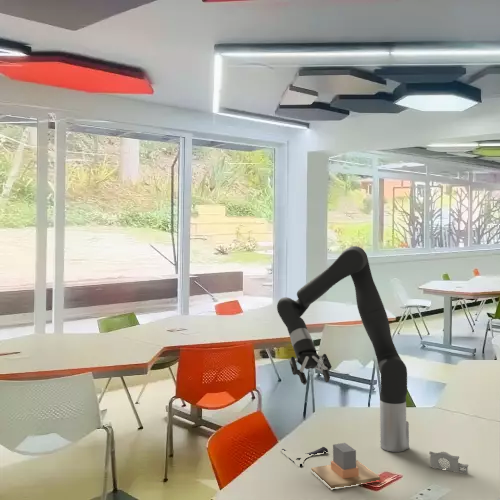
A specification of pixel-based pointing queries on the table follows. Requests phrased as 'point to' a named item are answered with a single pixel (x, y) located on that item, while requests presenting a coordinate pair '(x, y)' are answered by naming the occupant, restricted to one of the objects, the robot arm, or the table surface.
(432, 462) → the garden wall model
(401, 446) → the robot arm
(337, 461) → the block
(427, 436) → the table surface
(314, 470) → the oak board
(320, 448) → the bracket
